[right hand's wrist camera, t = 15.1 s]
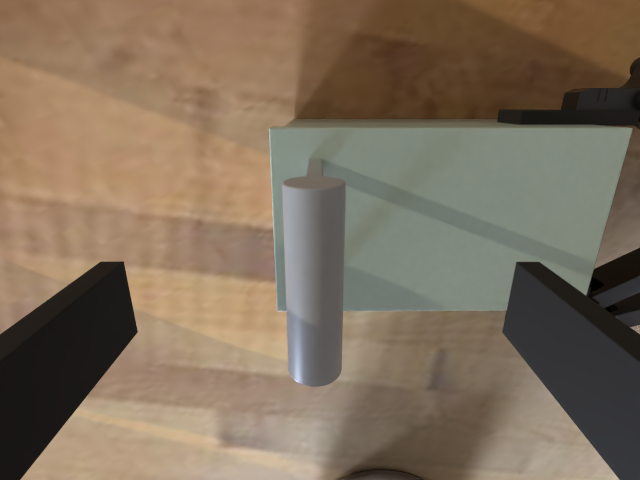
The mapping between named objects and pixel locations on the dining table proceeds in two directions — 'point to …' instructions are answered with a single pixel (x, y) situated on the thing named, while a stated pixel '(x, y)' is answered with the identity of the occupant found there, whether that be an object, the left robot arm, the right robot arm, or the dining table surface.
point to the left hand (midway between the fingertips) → (493, 207)
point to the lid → (428, 220)
